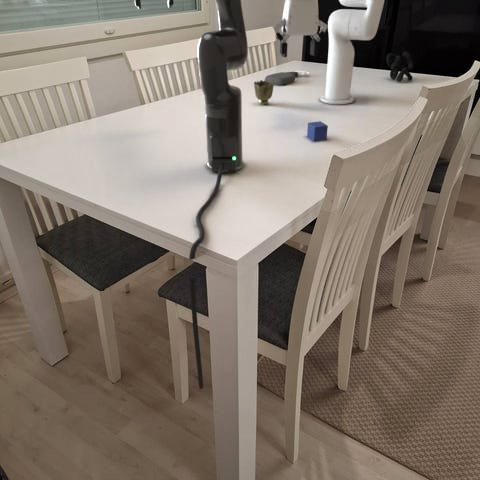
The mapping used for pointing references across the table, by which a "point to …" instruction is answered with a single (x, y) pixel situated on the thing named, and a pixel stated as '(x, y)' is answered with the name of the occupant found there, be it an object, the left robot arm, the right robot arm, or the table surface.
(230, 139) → the left robot arm
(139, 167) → the table surface
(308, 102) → the table surface
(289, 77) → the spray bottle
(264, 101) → the cup
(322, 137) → the brick
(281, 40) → the right robot arm
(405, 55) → the squiggle
